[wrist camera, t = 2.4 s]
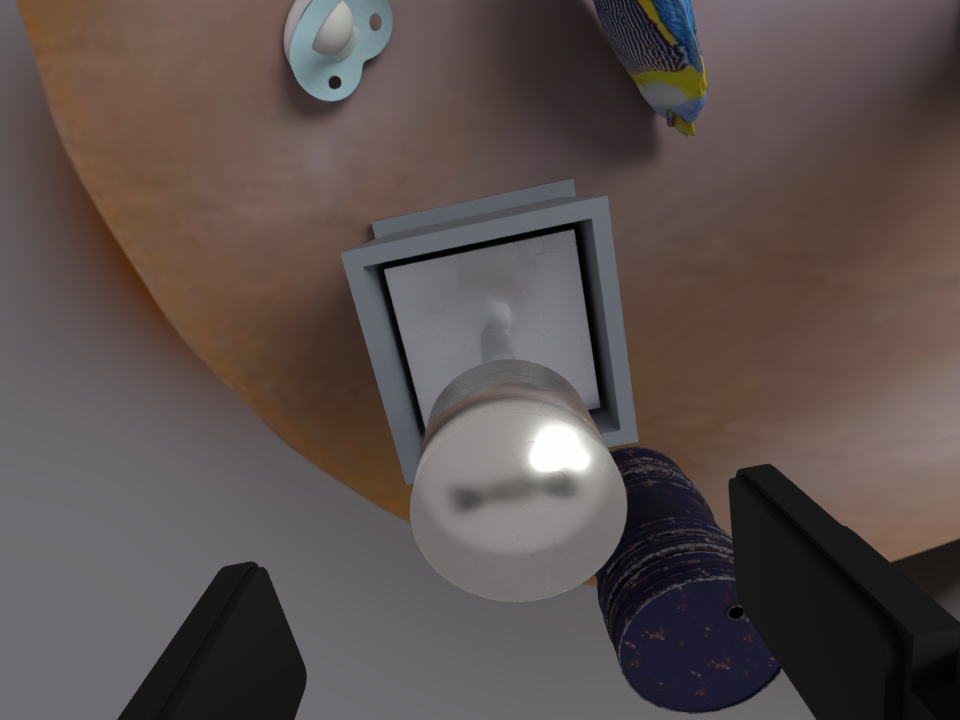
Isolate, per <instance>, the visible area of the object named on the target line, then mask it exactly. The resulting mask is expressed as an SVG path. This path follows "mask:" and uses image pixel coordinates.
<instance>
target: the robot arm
mask: <svg viewBox="0 0 960 720" xmlns="http://www.w3.org/2000/svg"><path fill="white" fill-rule="evenodd" d="M729 500H730V514H731V528H732V542H733V556H734V570H735V585H736V593H737V597H738V600H739V603H740V605H741V607H742V609H743V611H744V612H745V614H746V615H747V617H748V618H749V620H750V621H751V623H752V624H753V626H754V627H755V629H756V630H757V632H758V633H759V635H760V636H761V638H762V639H763V641H764V642H765V644H766V645H767V647H768V648H769V650H770V651H771V653H772V654H773V656H774V657H775V659H776V660H777V662H778V663H779V665H780V666H781V667H782V669H783V670H784V672H785V673H786V675H787V676H788V678H789V679H790V681H791V682H792V684H793V685H794V686H795V688H796V690H797V691H798V693H799V694H800V696H801V697H802V699H803V700H804V702H805V703H806V705H807V706H808V708H809V709H810V711H811V712H812V714H813V715H814V717H815V718H816V720H960V622H959V621H958V620H956V619H955V618H954V617H953V616H952V615H951V614H949V613H948V612H947V611H946V610H945V609H944V608H942V607H941V606H940V605H939V604H938V603H937V602H935V601H934V600H933V599H932V598H931V597H929V596H928V595H927V594H926V593H925V592H924V591H923V590H921V589H920V588H919V587H918V586H917V585H915V584H914V583H913V582H912V581H911V580H909V579H908V578H907V577H906V576H905V575H904V574H903V573H901V572H900V571H899V570H898V569H897V568H896V567H895V566H893V565H892V564H891V563H890V562H889V561H888V560H886V559H885V558H884V557H883V556H882V555H881V554H879V553H878V552H877V551H876V550H875V549H874V548H872V547H871V546H870V545H869V544H868V543H867V542H865V541H864V540H863V539H862V538H861V537H860V536H858V535H857V534H856V533H855V532H854V531H852V530H851V529H849V528H848V527H846V526H842V525H841V524H840V523H839V522H837V521H836V520H835V519H834V518H833V517H832V516H830V515H829V514H828V513H827V512H826V511H825V510H824V509H822V508H821V507H820V506H819V505H818V504H817V503H815V502H814V501H813V500H812V499H811V498H810V497H809V496H807V495H806V494H805V493H804V492H803V491H802V490H800V489H799V488H798V487H797V486H796V485H795V484H794V483H792V482H791V481H790V480H789V479H788V478H787V477H785V476H784V475H783V474H782V473H781V472H780V471H779V470H777V469H776V468H775V467H774V466H772V465H771V464H764V465H758V466H753V467H748V468H742V469H739V470H738V471H737V473H736V478H731V479H730V480H729ZM306 677H307V676H306V668H305V665H304V662H303V660H302V657H301V655H300V652H299V650H298V647H297V645H296V642H295V640H294V637H293V635H292V632H291V630H290V627H289V625H288V622H287V620H286V617H285V614H284V612H283V609H282V607H281V604H280V602H279V600H278V597H277V594H276V592H275V589H274V587H273V585H272V582H271V579H270V577H269V574H268V572H267V570H266V569H265V568H264V567H259V566H258V565H257V564H256V563H255V562H246V563H240V564H235V565H229V566H225V567H223V568H222V569H221V570H220V571H219V572H218V573H217V575H216V576H215V578H214V579H213V581H212V582H211V584H210V585H209V586H208V588H207V590H206V591H205V592H204V594H203V595H202V597H201V598H200V600H199V601H198V603H197V604H196V606H195V607H194V608H193V610H192V611H191V613H190V614H189V616H188V617H187V619H186V620H185V621H184V623H183V625H182V626H181V627H180V629H179V630H178V632H177V633H176V635H175V636H174V638H173V639H172V641H171V642H170V643H169V645H168V646H167V648H166V649H165V651H164V652H163V654H162V655H161V657H160V658H159V659H158V661H157V663H156V664H155V665H154V667H153V668H152V670H151V671H150V673H149V674H148V675H147V677H146V678H145V680H144V681H143V683H142V684H141V686H140V687H139V689H138V690H137V692H136V693H135V694H134V696H133V698H132V699H131V700H130V702H129V703H128V705H127V706H126V708H125V709H124V710H123V712H122V713H121V715H120V716H119V718H118V719H117V720H294V719H295V716H296V713H297V710H298V708H299V705H300V702H301V698H302V696H303V693H304V690H305V686H306V679H307V678H306Z"/></svg>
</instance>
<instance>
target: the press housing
mask: <svg viewBox="0 0 960 720" xmlns="http://www.w3.org/2000/svg"><path fill="white" fill-rule="evenodd" d="M371 224H372V227H373V231H374V235H375V240H372V241H369V242H367V243H364V244H362V245H359V246H356V247H354V248H351V249H349V250H346V251H343V252H341V253H340V254H341V258H342V261H343V265H344V268H345V272H346V275H347V279H348V282H349V286H350V289H351V293H352V296H353V300H354V303H355V307H356V310H357V314H358V317H359V321H360V324H361V328H362V331H363V335H364V338H365V342H366V345H367V349H368V352H369V356H370V359H371V363H372V366H373V370H374V374H375V377H376V381H377V384H378V388H379V391H380V395H381V398H382V402H383V405H384V409H385V412H386V416H387V419H388V423H389V426H390V430H391V433H392V437H393V440H394V444H395V447H396V451H397V454H398V458H399V461H400V465H401V468H402V472H403V475H404V479H405V482H406V485H407V484H413V483H414V482H415V477H416V473H417V468H418V464H419V460H420V455H421V451H422V446H423V442H424V438H425V433H426V429H425V425H424V421H423V417H422V413H421V410H420V406H419V402H418V398H417V394H416V391H415V387H414V383H413V379H412V375H411V371H410V368H409V364H408V360H407V356H406V352H405V349H404V345H403V341H402V337H401V333H400V329H399V326H398V322H397V318H396V314H395V310H394V307H393V303H392V299H391V295H390V291H389V287H388V284H387V280H386V276H385V272H384V269H385V268H387V267H390V266H395V265H400V264H404V263H409V262H414V261H419V260H423V259H428V258H433V257H437V256H442V255H447V254H452V253H456V252H461V251H466V250H471V249H475V248H480V247H485V246H490V245H494V244H499V243H504V242H508V241H513V240H518V239H523V238H527V237H532V236H537V235H542V234H546V233H551V232H556V231H560V230H565V229H570V228H571V229H574V232H575V239H576V246H577V253H578V260H579V266H580V273H581V280H582V287H583V294H584V301H585V307H586V314H587V321H588V328H589V335H590V341H591V348H592V355H593V362H594V369H595V375H596V382H597V389H598V396H599V403H600V408H595V409H590V410H588V412H589V414H590V415H591V417H592V419H593V421H594V423H595V425H596V427H597V429H598V431H599V433H600V435H601V437H602V439H603V441H604V443H605V444H606V446H607V447H613V446H618V445H624V444H629V443H634V442H638V434H637V426H636V418H635V410H634V402H633V394H632V386H631V378H630V370H629V362H628V354H627V346H626V338H625V330H624V322H623V314H622V306H621V298H620V290H619V282H618V274H617V266H616V258H615V250H614V242H613V234H612V226H611V218H610V210H609V202H608V195H606V196H576V191H575V184H574V178H573V179H568V180H564V181H559V182H555V183H550V184H545V185H541V186H536V187H532V188H527V189H522V190H518V191H513V192H508V193H504V194H499V195H495V196H490V197H485V198H481V199H476V200H472V201H467V202H462V203H458V204H453V205H449V206H444V207H439V208H435V209H430V210H426V211H421V212H416V213H412V214H407V215H403V216H398V217H393V218H389V219H384V220H379V221H375V222H371Z"/></svg>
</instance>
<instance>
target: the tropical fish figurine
mask: <svg viewBox="0 0 960 720" xmlns="http://www.w3.org/2000/svg"><path fill="white" fill-rule="evenodd" d="M593 2H594V5H595V9H596V12H597V15H598V18H599V20H600V23H601V25H602V28H603V30H604V33H605V35H606V37H607V39H608V41H609V43H610V45H611V47H612V49H613V51H614V53H615V54H616V56H617V57H618V59H619V60H620V62H621V63H622V65H623V66H624V68H625V69H626V71H627V72H628V73H629V75H630V76H631V77H632V79H633V80H634V81H635V83H636V85H637V87H638V89H639V91H640V93H641V94H642V96H643V97H644V99H645V100H646V102H648V103H649V105H650V106H651V107H652V108H653V110H654V111H655V112H656V113H658V114H659V115H661V116H663V117H665V118H667V124H668V126H670V127H675V128H676V129H677V130H678V131H679V132H680V133H681V134H683V135H684V136H685V137H687V138H688V137H690V135H691V136H694V135H695V128H694V124H693V122H694V121H695V120H696V119H697V117H698V115H699V113H700V110H701V109H702V108H703V106H704V104H705V102H706V88H707V84H706V76H705V69H704V62H703V58H702V54H701V51H700V47H699V43H698V40H697V37H696V26H695V21H694V16H693V11H692V6H691V2H690V0H593Z"/></svg>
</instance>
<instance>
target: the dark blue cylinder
mask: <svg viewBox="0 0 960 720" xmlns="http://www.w3.org/2000/svg"><path fill="white" fill-rule="evenodd" d="M610 454H611V456H612V458H613V460H614V462H615V464H616V466H617V468H618V470H619V472H620V474H621V477H622V479H623V482H624V486H625V491H626V495H627V516H626V522H625V527H624V531H623V534H622V536H621V539H620V541H619V543H618V545H617V547H616V549H615V550H614V552H613V554H612V555H611V557H610V558H609V559H608V560H607V562H606V563H605V564H604V565H603V566H602V567H601V568H600V569H599V570H598V571H597V572H596V573H595V575H596V578H597V590H598V600H599V606H600V608H601V611H602V614H603V617H604V621H605V625H606V628H607V631H608V634H609V637H610V639H611V641H612V643H613V645H614V648H615V651H616V654H617V658H618V662H619V665H620V668H621V671H622V674H623V676H624V679H625V680H626V682H627V683H628V685H629V686H630V688H631V689H633V691H634V692H635V693H636V694H637V695H639V696H640V697H641V698H643V699H644V700H645V701H647V702H649V703H651V704H653V705H655V706H656V707H659V708H662V709H665V710H668V711H674V712H678V713H689V714H696V713H697V714H698V713H709V712H716V711H721V710H724V709H728V708H731V707H733V706H736V705H739V704H741V703H743V702H745V701H747V700H749V699H751V698H752V697H755V696H756V695H757V694H759V693H760V692H762V691H763V690H764V689H766V687H768V685H770V684H771V683H772V682H773V681H774V680H775V679H776V677H777V676H778V675H779V674H780V672H781V671H782V667H781V666H780V665H779V663H778V662H777V660H776V659H775V657H774V656H773V654H772V653H771V651H770V650H769V648H768V647H767V645H766V644H765V642H764V641H763V639H762V638H761V636H760V635H759V633H758V632H757V630H756V629H755V627H754V626H753V624H752V623H751V621H750V620H749V618H748V617H747V615H746V614H745V612H744V611H743V609H742V607H741V605H740V603H739V600H738V597H737V593H736V585H735V570H734V556H733V542H732V537H730V536H729V535H728V534H727V533H726V532H725V531H724V530H722V529H720V528H719V527H718V525H717V524H716V522H715V520H714V517H713V514H712V512H711V510H710V508H709V506H708V504H707V502H706V500H705V499H704V497H703V496H702V495H701V494H700V493H699V491H698V490H697V489H696V487H695V486H694V485H693V483H692V482H691V481H690V480H689V479H688V478H687V477H686V476H685V475H684V474H683V473H682V471H681V470H680V469H679V467H678V466H677V465H676V464H675V463H674V462H673V461H672V460H671V459H670V458H668V457H667V456H665V455H664V454H662V453H659V452H657V451H655V450H651V449H647V448H639V447H631V448H623V449H618V450H615V451H612V452H610Z"/></svg>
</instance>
